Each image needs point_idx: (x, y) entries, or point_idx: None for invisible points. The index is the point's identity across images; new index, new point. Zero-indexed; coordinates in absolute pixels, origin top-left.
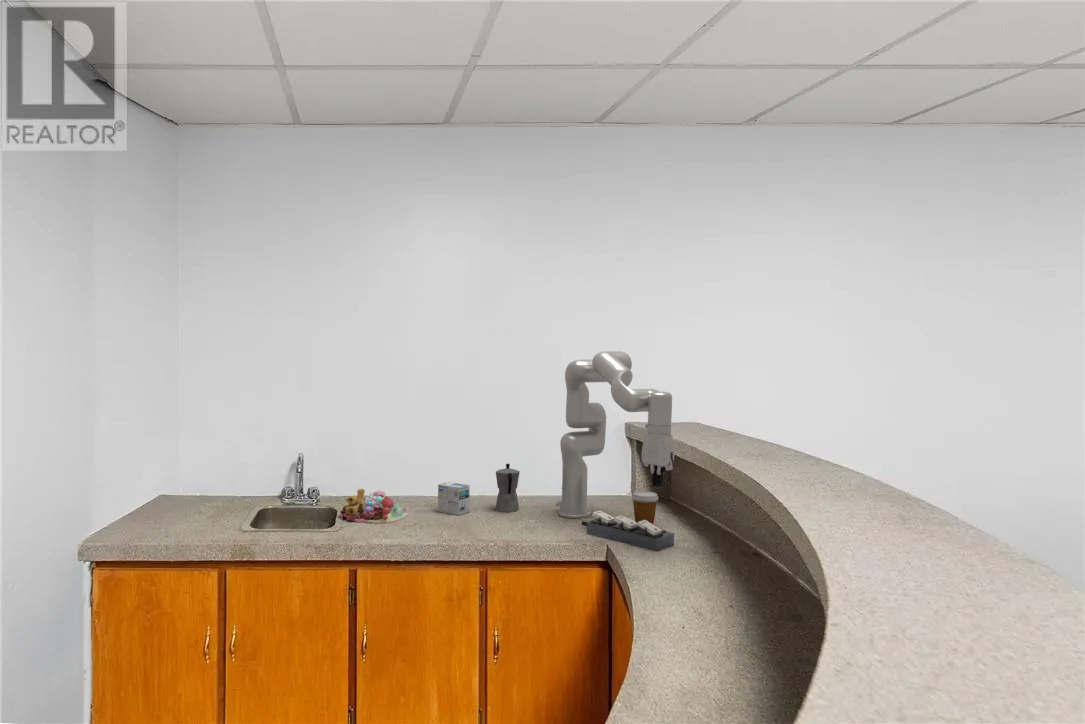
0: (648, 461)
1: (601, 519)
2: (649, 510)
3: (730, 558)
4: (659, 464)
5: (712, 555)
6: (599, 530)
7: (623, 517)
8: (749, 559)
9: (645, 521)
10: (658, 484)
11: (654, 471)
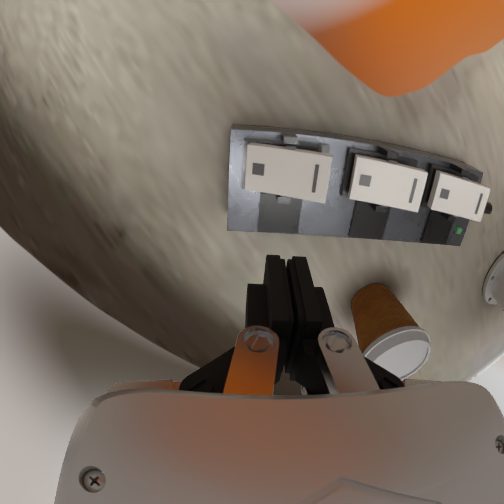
0: (412, 412)
1: (458, 176)
2: (368, 324)
3: (72, 217)
4: (194, 407)
5: (107, 207)
6: (442, 158)
7: (407, 200)
8: (51, 239)
9: (315, 188)
10: (264, 283)
11: (316, 353)
